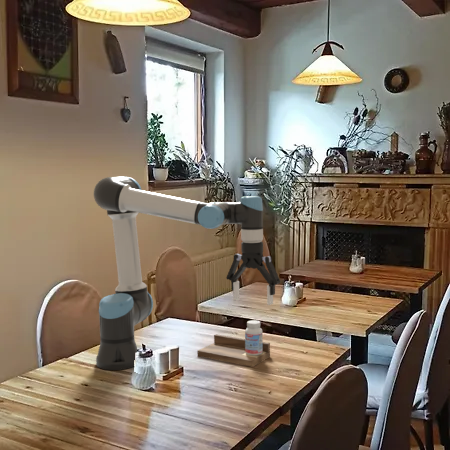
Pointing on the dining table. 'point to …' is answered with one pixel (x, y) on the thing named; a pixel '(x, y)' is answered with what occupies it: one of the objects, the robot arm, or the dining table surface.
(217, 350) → the wooden stand
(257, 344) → the pill bottle
